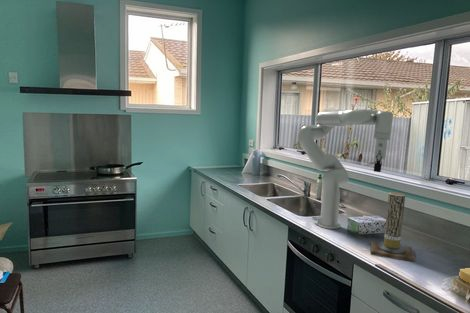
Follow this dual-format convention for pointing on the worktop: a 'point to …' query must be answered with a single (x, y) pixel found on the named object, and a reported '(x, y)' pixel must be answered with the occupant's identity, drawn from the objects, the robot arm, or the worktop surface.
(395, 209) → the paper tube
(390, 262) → the worktop surface
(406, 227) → the worktop surface
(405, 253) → the brown tray
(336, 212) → the robot arm
